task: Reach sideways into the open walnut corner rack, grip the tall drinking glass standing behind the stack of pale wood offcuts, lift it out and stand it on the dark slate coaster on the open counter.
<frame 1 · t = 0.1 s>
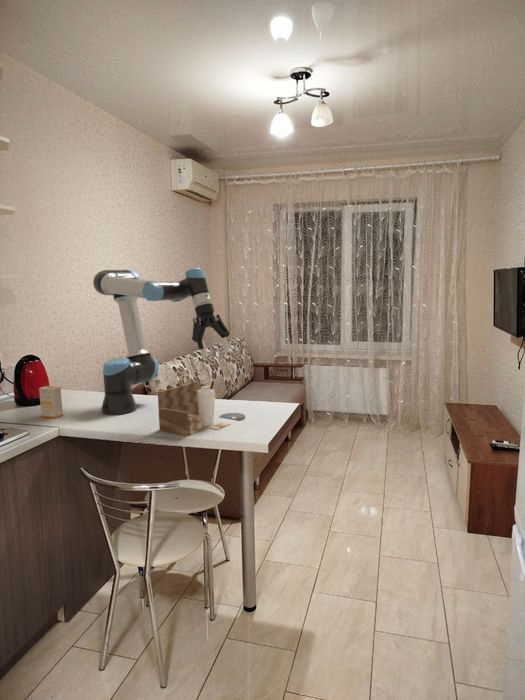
hand: (216, 354, 195), 28 cm above the countertop, tool tilted 20°, fingers open, 13 cm apart
offcut flat: (219, 430, 186), on the countertop
condiment: (192, 414, 208), on the countertop
drinking glass: (206, 427, 190), on the countertop
rack: (206, 427, 190), on the countertop
supplement box: (52, 416, 209), on the countertop
coaster: (232, 417, 202), on the countertop
offcut upper: (190, 423, 181), point 4 cm above the countertop, touching offcut lower
offcut lower: (190, 430, 181), point 1 cm above the countertop, touching offcut upper, rack
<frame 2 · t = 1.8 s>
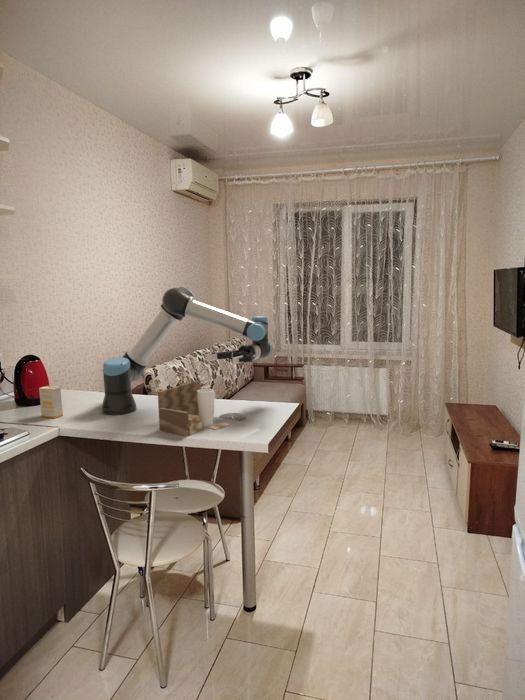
hand: (219, 360, 194), 26 cm above the countertop, tool horizontal, fingers open, 13 cm apart
nothing on the countertop moved.
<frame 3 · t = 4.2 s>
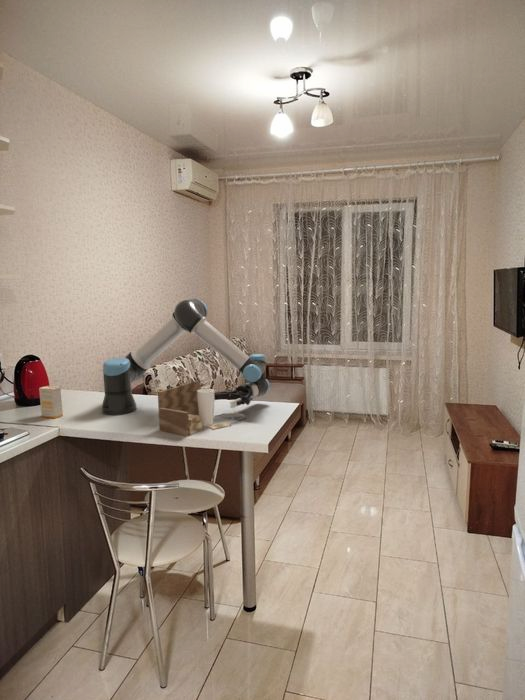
hand: (217, 402, 194), 8 cm above the countertop, tool horizontal, fingers open, 13 cm apart
nothing on the countertop moved.
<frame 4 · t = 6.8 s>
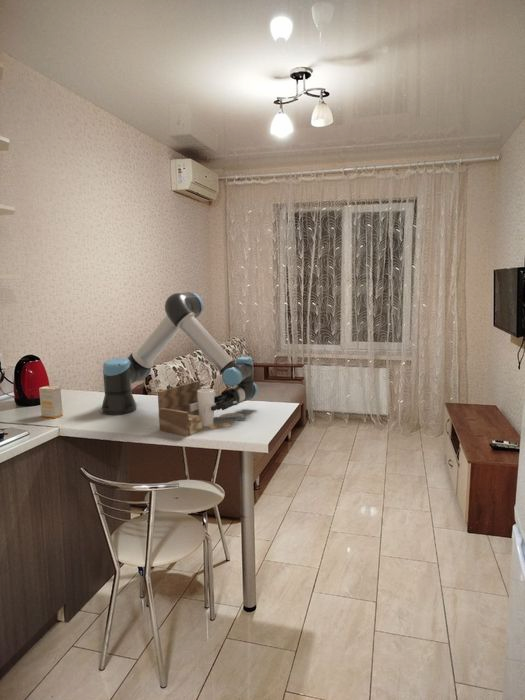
hand: (197, 409, 184), 9 cm above the countertop, tool horizontal, fingers closed on drinking glass, 6 cm apart
drinking glass: (206, 427, 190), on the countertop, touching gripper
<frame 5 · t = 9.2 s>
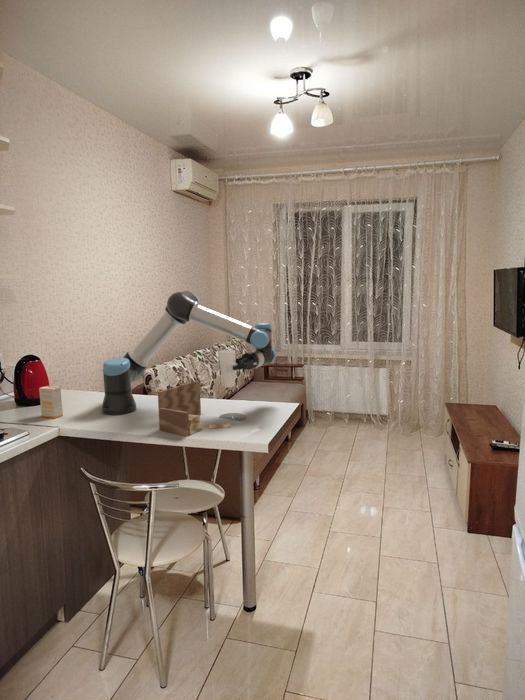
hand: (220, 368, 193), 23 cm above the countertop, tool horizontal, fingers closed on drinking glass, 6 cm apart
drinking glass: (228, 387, 198), point 14 cm above the countertop, touching gripper
when the fingers open (10 cm above the countertop, at t = 11.9 s): drinking glass drops 1 cm, resting on coaster.
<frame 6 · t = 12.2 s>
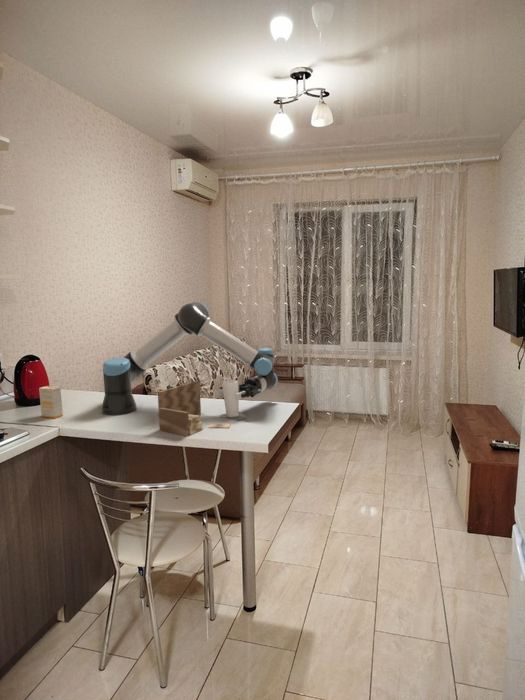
hand: (225, 395, 197), 10 cm above the countertop, tool horizontal, fingers open, 10 cm apart
drinking glass: (232, 416, 202), point 1 cm above the countertop, touching coaster
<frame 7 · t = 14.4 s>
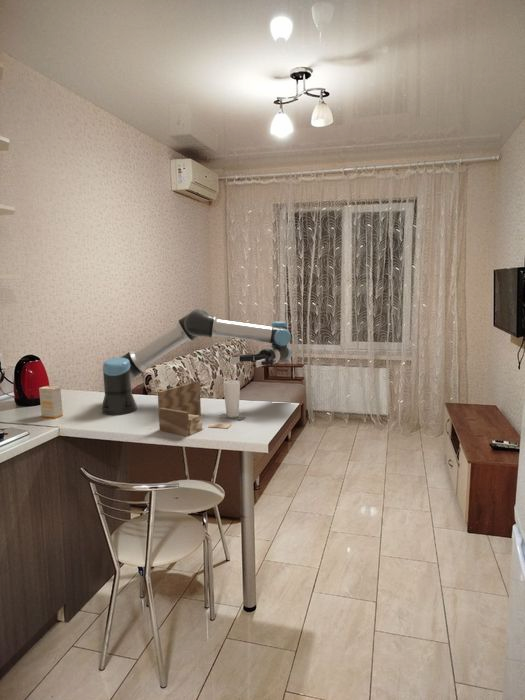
hand: (243, 362, 205), 23 cm above the countertop, tool horizontal, fingers open, 13 cm apart
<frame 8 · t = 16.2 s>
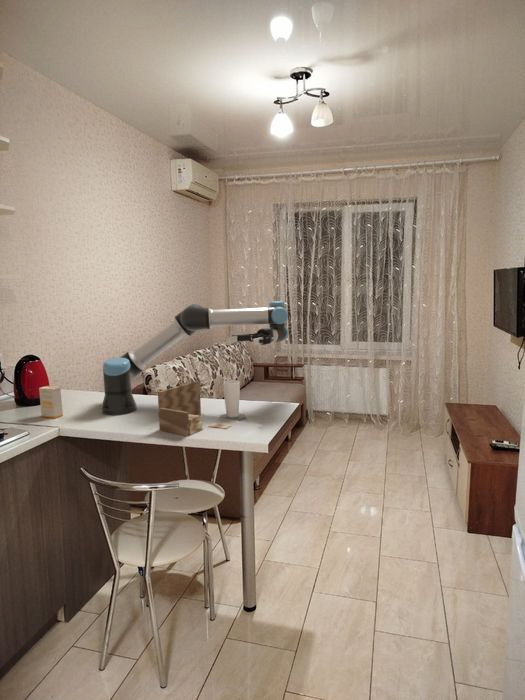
hand: (240, 341, 203), 32 cm above the countertop, tool horizontal, fingers open, 13 cm apart
at the end: drinking glass 0.2 cm from the coaster (horizontally); drinking glass tilted 0°; the gripper is holding nothing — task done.
